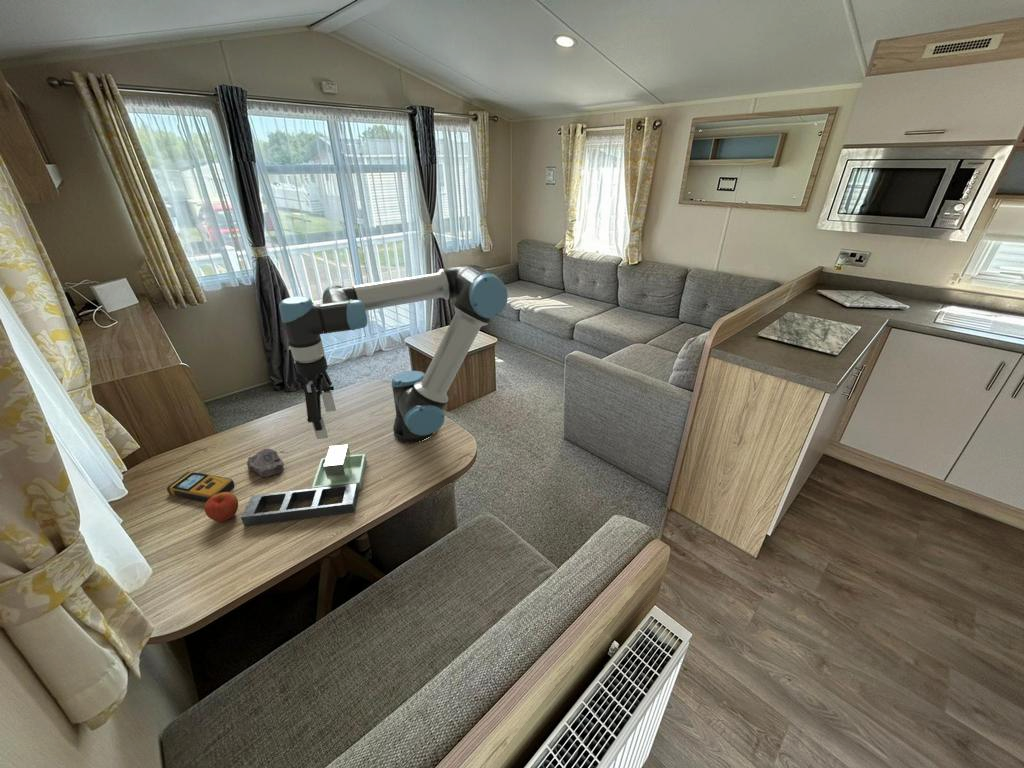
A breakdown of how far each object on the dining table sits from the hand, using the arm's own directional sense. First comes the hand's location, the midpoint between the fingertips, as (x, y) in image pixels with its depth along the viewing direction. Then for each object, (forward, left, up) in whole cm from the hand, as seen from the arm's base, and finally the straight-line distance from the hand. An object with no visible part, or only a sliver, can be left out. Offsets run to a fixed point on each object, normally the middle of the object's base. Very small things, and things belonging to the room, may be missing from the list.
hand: (326, 423), depth 114 cm
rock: (+23, -7, -20) cm, 32 cm away
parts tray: (-1, +1, -20) cm, 20 cm away
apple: (+27, +12, -20) cm, 36 cm away
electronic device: (+38, 0, -20) cm, 43 cm away
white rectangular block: (-1, +1, -19) cm, 19 cm away
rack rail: (+7, +13, -20) cm, 24 cm away
